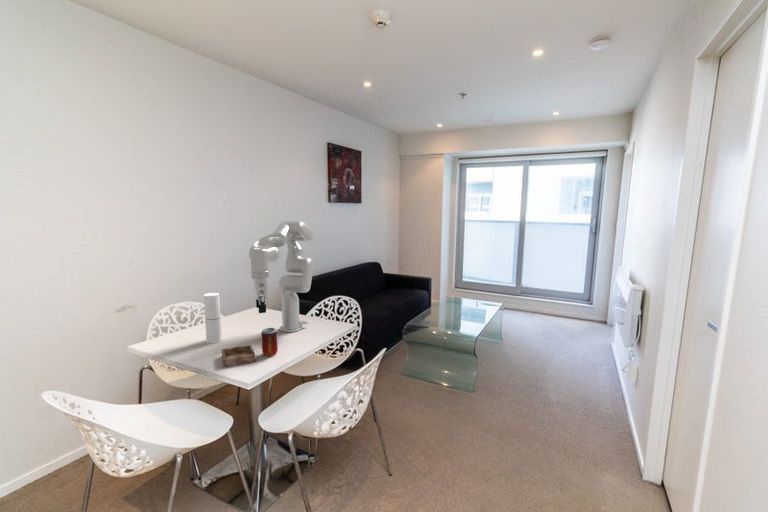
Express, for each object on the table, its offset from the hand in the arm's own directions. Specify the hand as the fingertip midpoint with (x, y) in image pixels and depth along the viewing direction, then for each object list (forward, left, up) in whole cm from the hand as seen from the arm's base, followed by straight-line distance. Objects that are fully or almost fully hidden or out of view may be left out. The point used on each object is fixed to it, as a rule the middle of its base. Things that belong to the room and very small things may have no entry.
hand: (261, 310), depth 161 cm
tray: (+11, +2, -22) cm, 24 cm away
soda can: (-3, +3, -22) cm, 22 cm away
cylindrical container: (+20, -27, -22) cm, 40 cm away
